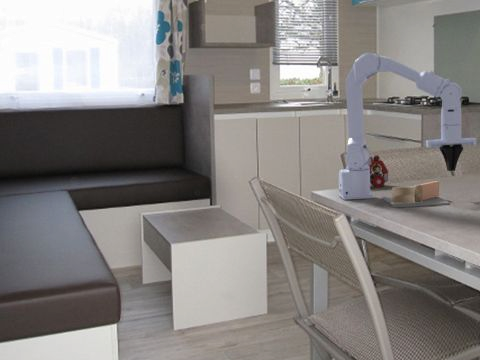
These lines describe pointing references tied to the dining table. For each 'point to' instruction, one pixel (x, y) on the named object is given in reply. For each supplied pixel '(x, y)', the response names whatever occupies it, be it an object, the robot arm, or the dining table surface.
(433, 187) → the tan flat block
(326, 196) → the dining table surface
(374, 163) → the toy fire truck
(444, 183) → the dining table surface
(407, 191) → the fence fixed
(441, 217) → the dining table surface
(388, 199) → the card
